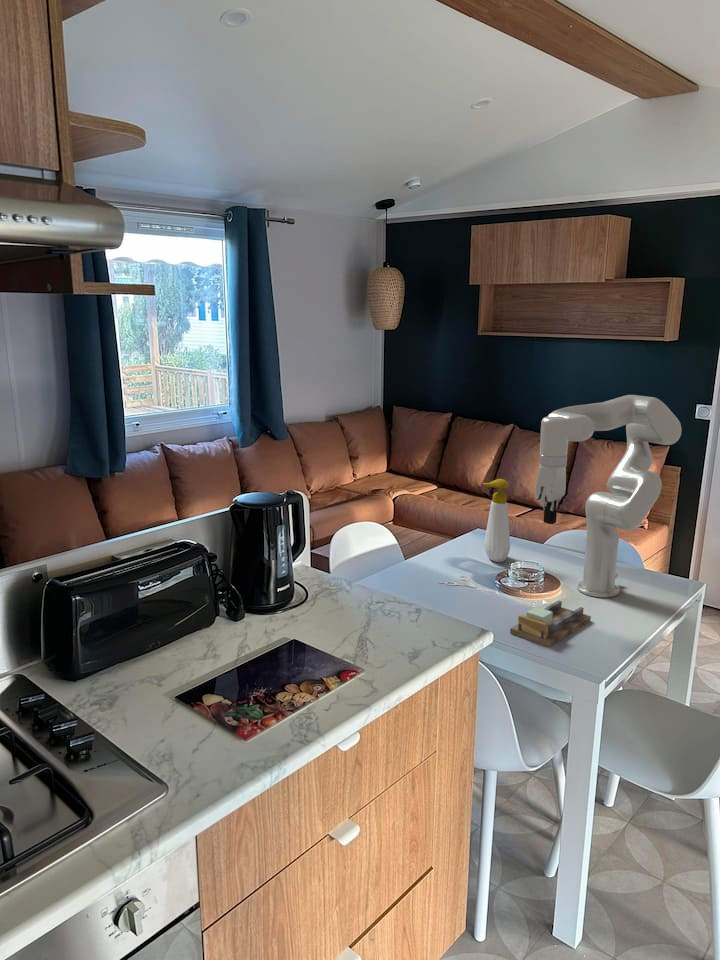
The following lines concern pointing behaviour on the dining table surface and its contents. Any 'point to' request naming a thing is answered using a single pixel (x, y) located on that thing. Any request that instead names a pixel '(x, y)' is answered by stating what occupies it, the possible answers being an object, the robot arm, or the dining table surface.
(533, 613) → the pale green cube
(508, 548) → the spray bottle
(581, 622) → the track
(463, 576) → the scissors
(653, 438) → the robot arm
